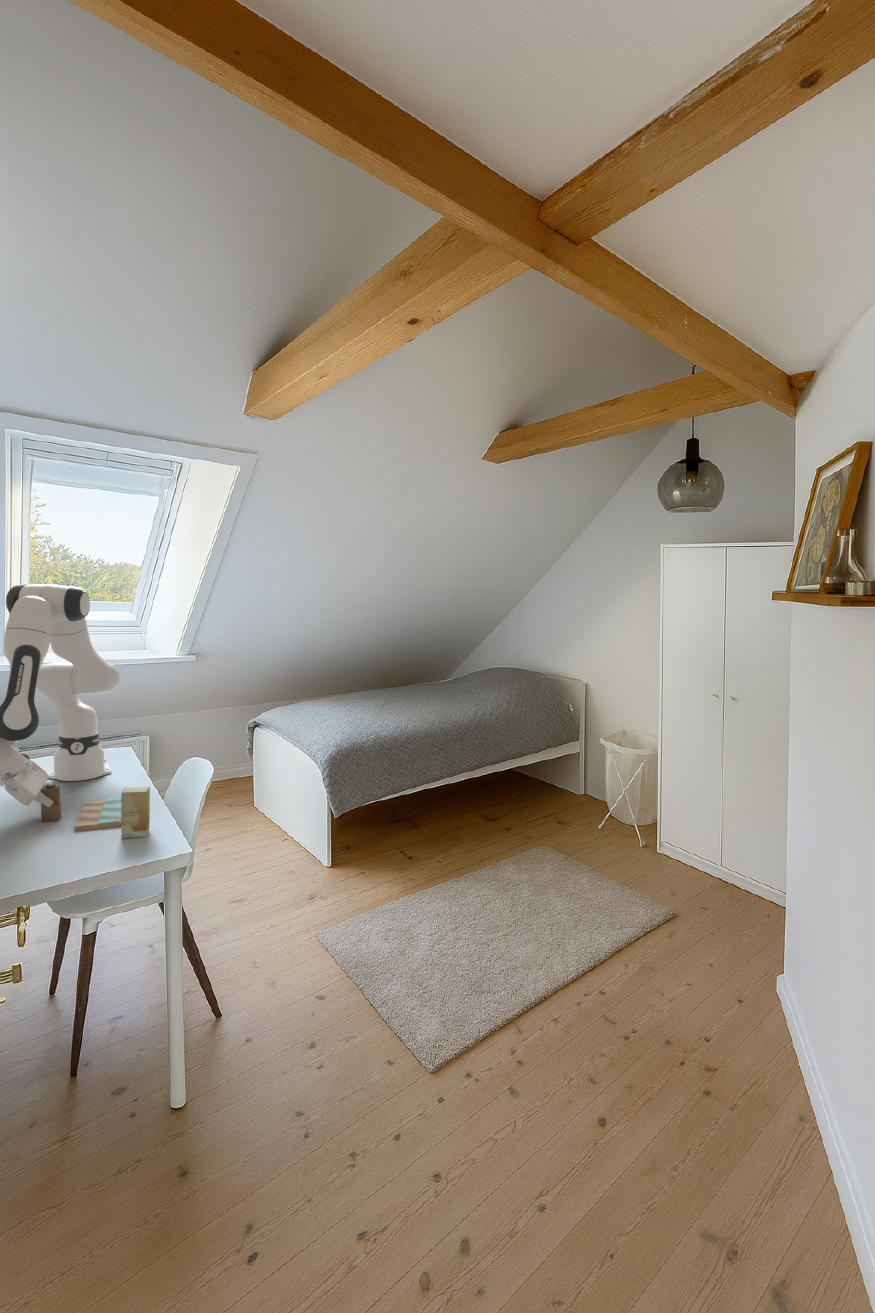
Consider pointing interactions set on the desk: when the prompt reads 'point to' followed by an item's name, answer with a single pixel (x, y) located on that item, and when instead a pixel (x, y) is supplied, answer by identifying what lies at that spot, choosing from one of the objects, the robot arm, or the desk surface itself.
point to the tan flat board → (99, 814)
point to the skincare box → (135, 812)
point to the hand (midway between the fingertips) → (53, 801)
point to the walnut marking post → (55, 809)
